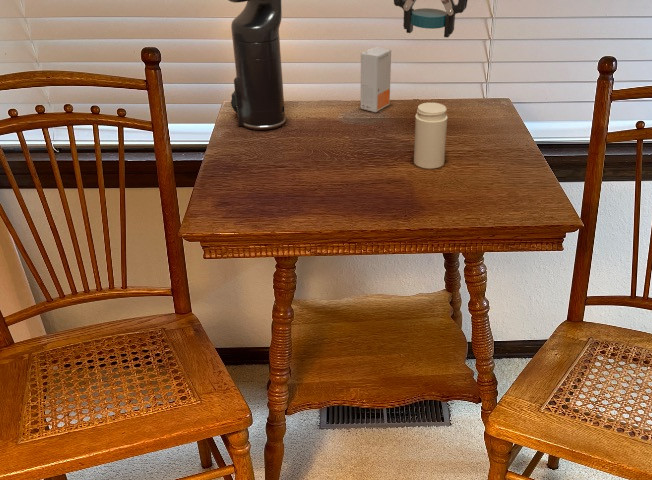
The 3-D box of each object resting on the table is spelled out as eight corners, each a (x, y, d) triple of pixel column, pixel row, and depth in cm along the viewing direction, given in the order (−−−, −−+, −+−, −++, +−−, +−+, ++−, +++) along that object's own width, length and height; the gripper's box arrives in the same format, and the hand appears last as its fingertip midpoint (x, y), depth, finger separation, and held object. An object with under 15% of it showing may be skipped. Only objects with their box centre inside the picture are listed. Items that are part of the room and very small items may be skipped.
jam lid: (450, 21, 138) (451, 10, 137) (442, 30, 133) (443, 18, 132) (415, 17, 139) (416, 6, 138) (406, 26, 134) (406, 14, 133)
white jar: (412, 167, 143) (414, 112, 136) (414, 154, 148) (416, 100, 141) (443, 169, 143) (447, 114, 136) (445, 156, 147) (448, 102, 140)
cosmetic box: (376, 113, 164) (376, 56, 157) (360, 109, 166) (359, 52, 158) (390, 105, 168) (392, 49, 161) (374, 101, 170) (375, 45, 162)
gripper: (387, -71, 125) (384, 35, 136) (471, -63, 122) (462, 44, 133) (399, -78, 131) (396, 24, 141) (480, -71, 128) (471, 32, 138)
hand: (428, 33), depth 137 cm, fingers closed on jam lid, 6 cm apart
